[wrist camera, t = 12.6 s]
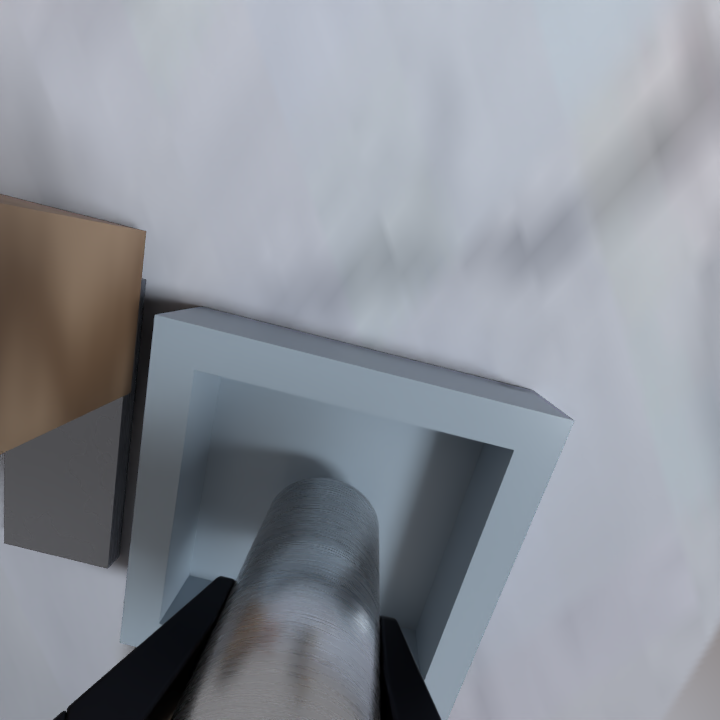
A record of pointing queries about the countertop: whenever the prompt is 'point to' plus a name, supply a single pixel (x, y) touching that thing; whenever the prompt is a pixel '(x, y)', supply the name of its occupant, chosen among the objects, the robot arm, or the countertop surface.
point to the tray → (335, 473)
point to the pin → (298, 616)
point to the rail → (73, 482)
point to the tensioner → (63, 316)
